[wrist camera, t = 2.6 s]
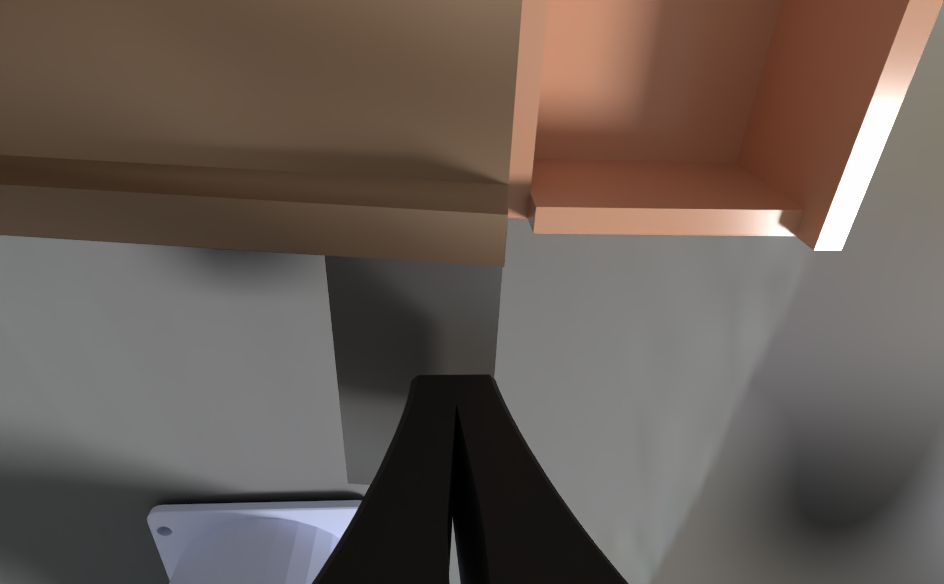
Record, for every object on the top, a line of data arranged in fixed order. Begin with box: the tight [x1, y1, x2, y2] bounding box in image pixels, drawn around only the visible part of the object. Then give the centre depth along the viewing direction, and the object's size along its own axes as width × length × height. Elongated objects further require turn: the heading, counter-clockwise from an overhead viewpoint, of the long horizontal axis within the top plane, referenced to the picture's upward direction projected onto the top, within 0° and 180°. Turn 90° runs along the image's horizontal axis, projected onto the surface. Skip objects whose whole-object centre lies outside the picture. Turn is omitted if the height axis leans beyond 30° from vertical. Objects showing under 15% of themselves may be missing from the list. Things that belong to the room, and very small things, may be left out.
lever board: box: [0, 0, 522, 485], centre depth 9 cm, size 13×14×2 cm
